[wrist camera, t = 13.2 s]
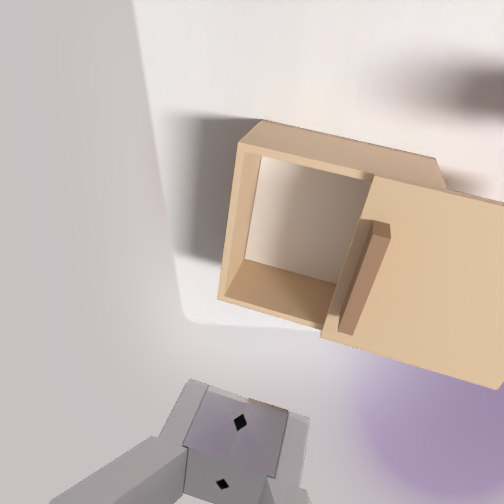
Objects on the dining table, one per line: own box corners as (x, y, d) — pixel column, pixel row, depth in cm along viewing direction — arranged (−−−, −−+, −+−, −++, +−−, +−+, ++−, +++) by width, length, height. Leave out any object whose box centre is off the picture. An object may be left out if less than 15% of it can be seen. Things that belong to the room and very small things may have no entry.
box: (262, 119, 47) (237, 141, 39) (435, 158, 44) (448, 191, 36) (239, 258, 58) (217, 299, 50) (377, 296, 55) (378, 346, 47)
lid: (374, 172, 37) (374, 187, 34) (608, 227, 34) (633, 250, 31) (320, 331, 48) (316, 355, 45) (494, 383, 45) (504, 412, 42)
